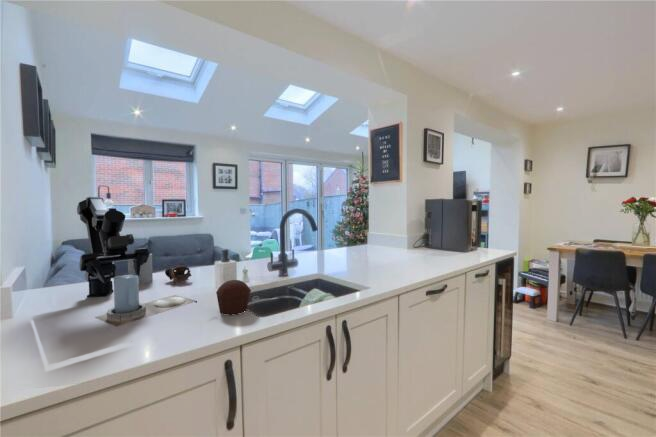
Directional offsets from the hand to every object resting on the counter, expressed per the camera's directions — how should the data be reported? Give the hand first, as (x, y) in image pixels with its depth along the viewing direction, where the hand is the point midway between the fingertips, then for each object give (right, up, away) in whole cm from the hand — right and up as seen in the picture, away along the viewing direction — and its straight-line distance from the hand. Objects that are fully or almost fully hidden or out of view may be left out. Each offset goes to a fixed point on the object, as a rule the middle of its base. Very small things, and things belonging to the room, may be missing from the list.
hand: (122, 279), depth 97 cm
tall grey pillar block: (-19, -9, +40) cm, 46 cm away
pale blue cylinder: (+4, -11, -3) cm, 12 cm away
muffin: (+34, -12, +6) cm, 37 cm away
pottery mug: (-2, -10, +41) cm, 42 cm away
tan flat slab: (+7, -11, +4) cm, 14 cm away
